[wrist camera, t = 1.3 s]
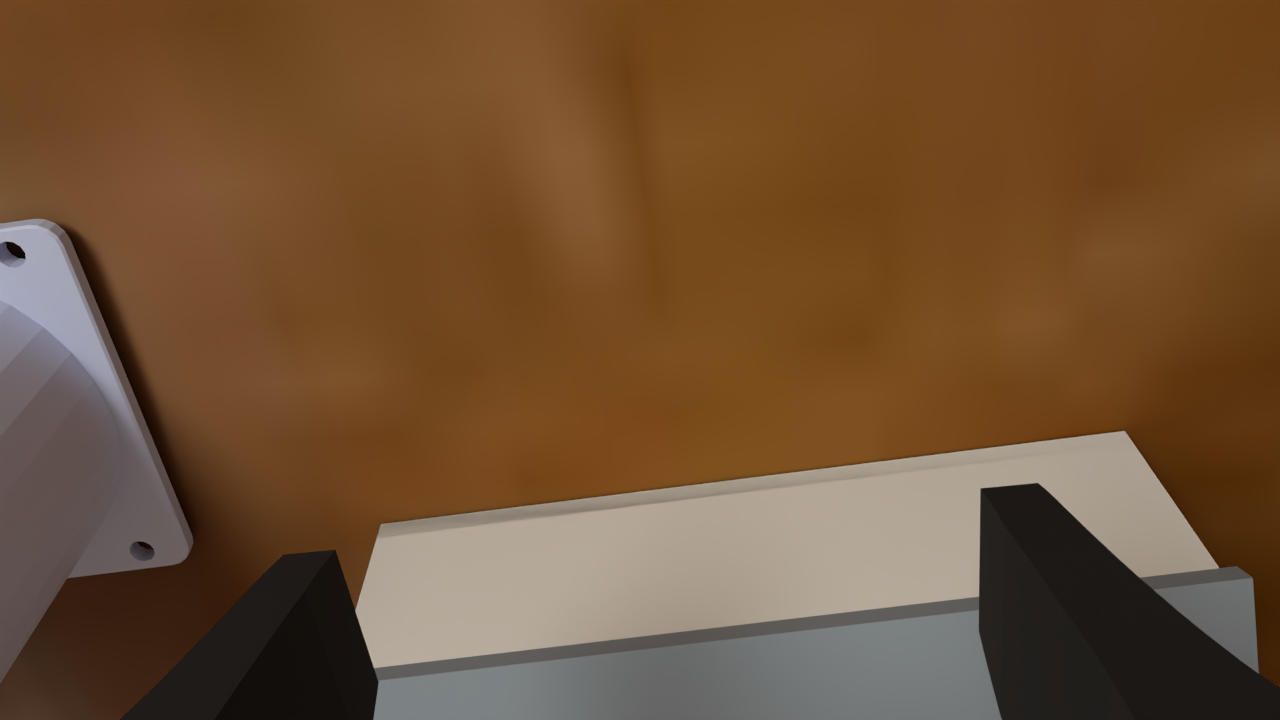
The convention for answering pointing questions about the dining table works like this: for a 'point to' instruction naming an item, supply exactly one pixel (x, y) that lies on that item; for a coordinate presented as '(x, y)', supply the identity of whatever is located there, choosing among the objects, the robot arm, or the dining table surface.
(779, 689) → the lid
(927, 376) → the dining table surface
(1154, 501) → the box
